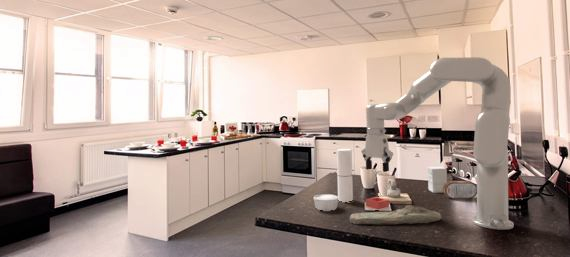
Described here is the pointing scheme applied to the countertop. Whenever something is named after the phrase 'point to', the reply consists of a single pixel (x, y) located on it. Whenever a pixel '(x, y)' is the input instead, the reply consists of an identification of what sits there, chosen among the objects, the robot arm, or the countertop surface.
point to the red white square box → (377, 202)
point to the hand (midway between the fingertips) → (377, 170)
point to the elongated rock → (397, 216)
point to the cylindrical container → (344, 175)
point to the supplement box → (437, 179)
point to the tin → (460, 189)
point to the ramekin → (326, 202)
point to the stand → (396, 195)
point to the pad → (378, 209)
